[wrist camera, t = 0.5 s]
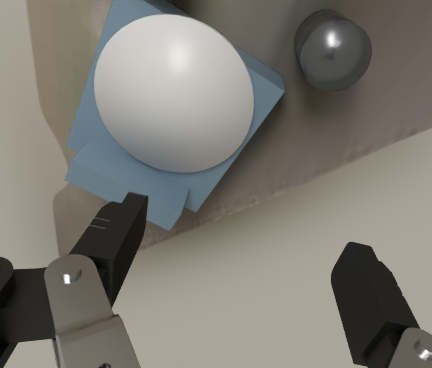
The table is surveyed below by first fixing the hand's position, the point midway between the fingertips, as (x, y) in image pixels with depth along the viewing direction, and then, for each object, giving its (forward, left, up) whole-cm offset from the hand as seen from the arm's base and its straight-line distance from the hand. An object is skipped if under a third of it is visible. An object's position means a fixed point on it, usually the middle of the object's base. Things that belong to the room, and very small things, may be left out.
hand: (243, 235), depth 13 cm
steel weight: (-6, +3, -20) cm, 21 cm away
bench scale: (+6, -5, -20) cm, 21 cm away
